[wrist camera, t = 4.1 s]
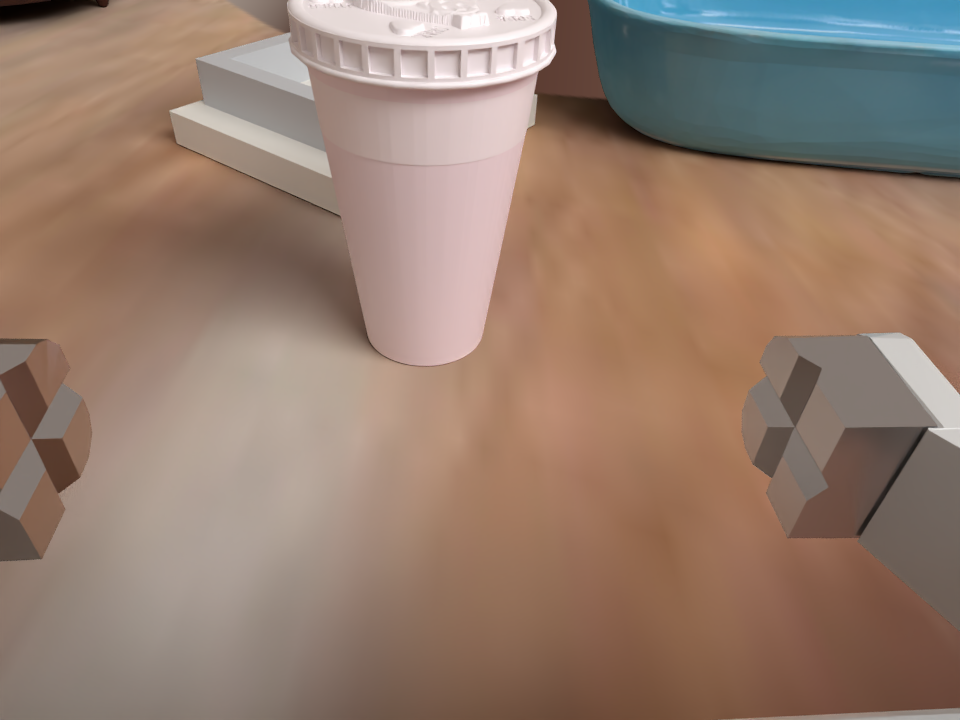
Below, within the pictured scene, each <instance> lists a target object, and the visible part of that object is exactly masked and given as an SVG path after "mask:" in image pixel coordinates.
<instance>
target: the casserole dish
mask: <svg viewBox="0 0 960 720" xmlns="http://www.w3.org/2000/svg"><path fill="white" fill-rule="evenodd" d="M588 3H589V9H590V17H591V26H592V35H593V44H594V49H595V55H596V61H597V66H598V72H599V77H600V80H601V84H602V88H603V91H604V93H605V96H606V98H607V100H608V102H609V104H610V106H611V107H612V109H613V110H614V111H615V112H616V113H617V114H618V116H619V117H620V118H621V119H622V120H624V121H625V122H626V123H627V124H628V125H630V126H631V127H633V128H634V129H636V130H637V131H639V132H640V133H642V134H644V135H646V136H648V137H651V138H653V139H656V140H659V141H662V142H665V143H668V144H672V145H675V146H679V147H684V148H689V149H693V150H699V151H705V152H711V153H718V154H725V155H733V156H741V157H749V158H757V159H766V160H776V161H785V162H795V163H804V164H815V165H825V166H835V167H845V168H856V169H867V170H877V171H888V172H899V173H913V172H919V173H921V174H924V175H935V176H946V177H957V178H960V0H588Z"/></svg>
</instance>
